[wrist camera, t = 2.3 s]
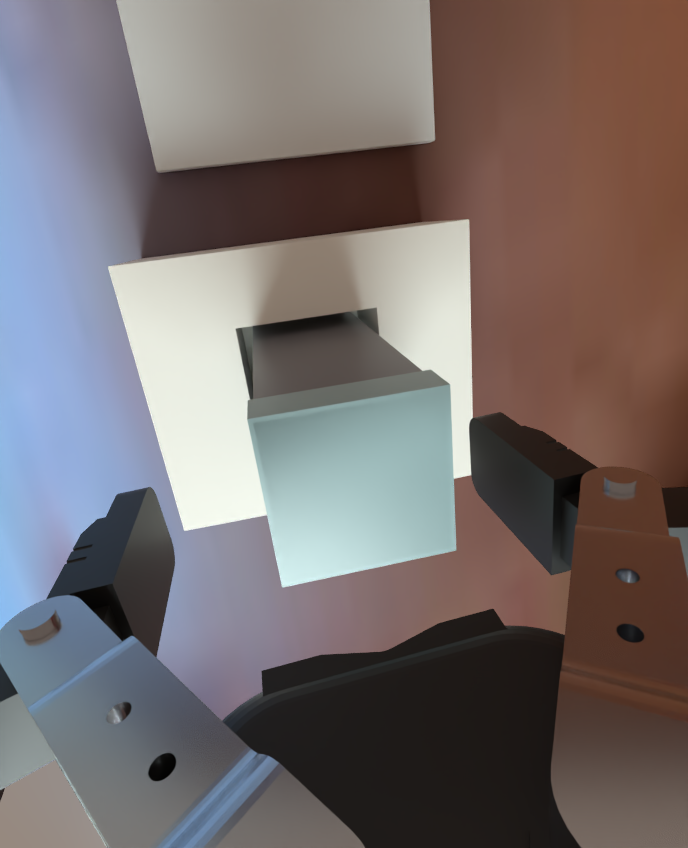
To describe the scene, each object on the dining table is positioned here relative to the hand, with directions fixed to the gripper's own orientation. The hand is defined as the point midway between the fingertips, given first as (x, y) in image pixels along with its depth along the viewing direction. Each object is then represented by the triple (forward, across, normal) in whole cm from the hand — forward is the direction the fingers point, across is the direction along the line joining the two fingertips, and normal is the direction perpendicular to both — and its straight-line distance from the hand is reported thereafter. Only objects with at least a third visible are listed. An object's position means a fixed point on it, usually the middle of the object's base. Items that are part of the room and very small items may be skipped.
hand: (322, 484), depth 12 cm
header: (+11, -1, 0) cm, 11 cm away
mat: (+11, -2, -12) cm, 17 cm away
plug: (+10, -1, 0) cm, 10 cm away
